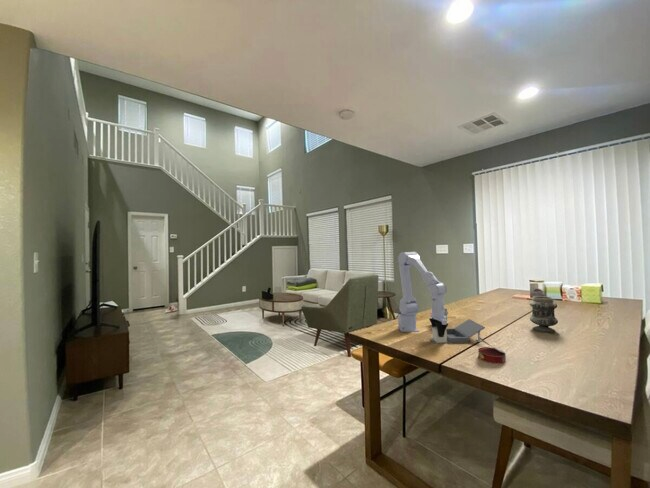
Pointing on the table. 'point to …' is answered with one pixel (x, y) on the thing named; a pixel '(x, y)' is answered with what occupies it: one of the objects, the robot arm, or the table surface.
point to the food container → (445, 312)
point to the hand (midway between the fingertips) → (438, 334)
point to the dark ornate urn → (543, 313)
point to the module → (436, 337)
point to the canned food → (491, 354)
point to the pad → (436, 342)
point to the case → (464, 332)
